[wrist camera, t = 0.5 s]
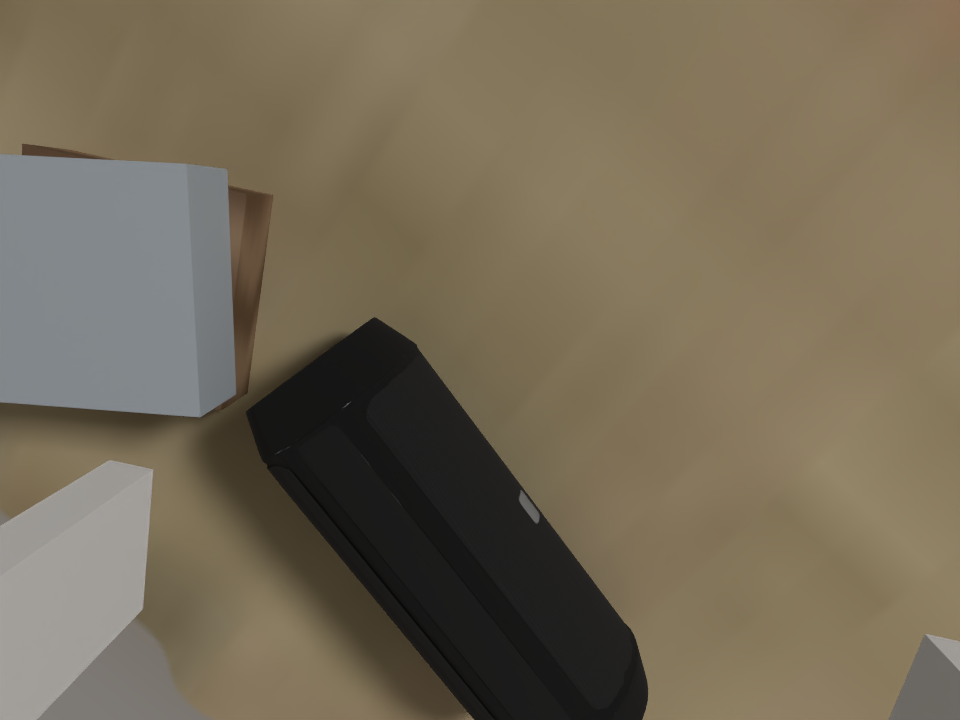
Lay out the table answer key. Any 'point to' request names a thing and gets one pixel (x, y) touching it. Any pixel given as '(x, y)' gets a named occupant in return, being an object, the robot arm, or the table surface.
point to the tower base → (246, 262)
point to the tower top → (115, 285)
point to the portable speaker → (446, 535)
